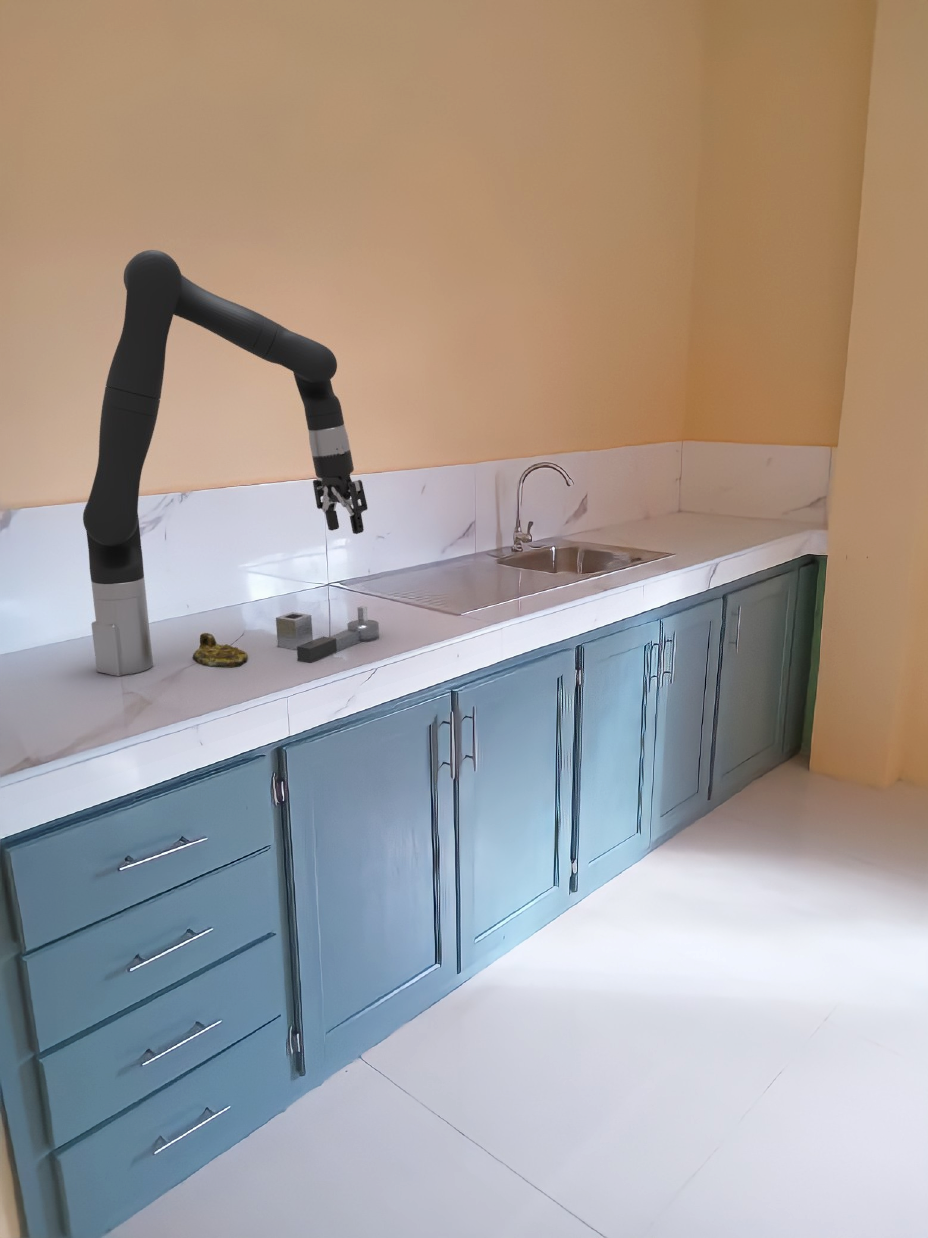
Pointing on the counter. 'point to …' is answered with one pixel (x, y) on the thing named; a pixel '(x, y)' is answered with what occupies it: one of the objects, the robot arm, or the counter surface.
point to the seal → (218, 653)
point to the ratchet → (340, 638)
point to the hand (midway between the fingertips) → (346, 531)
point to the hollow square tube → (293, 630)
